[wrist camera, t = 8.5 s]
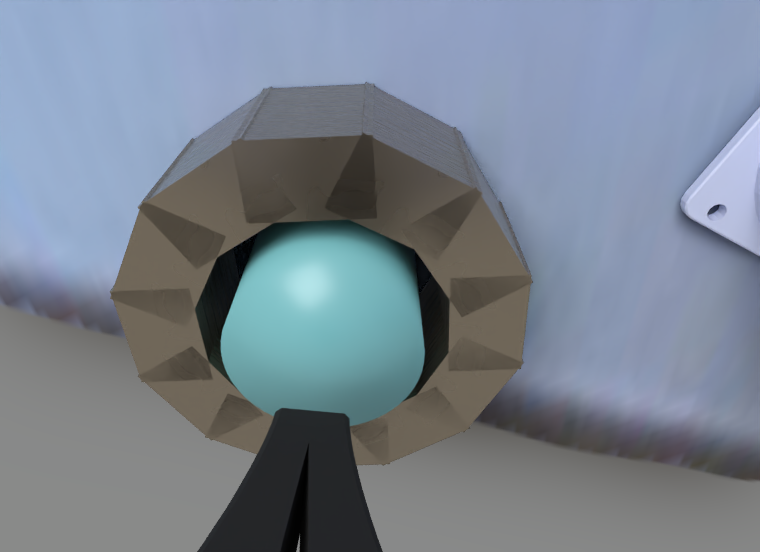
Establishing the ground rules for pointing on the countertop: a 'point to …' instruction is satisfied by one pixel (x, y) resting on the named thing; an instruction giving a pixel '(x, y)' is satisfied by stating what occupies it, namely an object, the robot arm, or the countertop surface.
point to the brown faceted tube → (320, 203)
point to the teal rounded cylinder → (325, 321)
